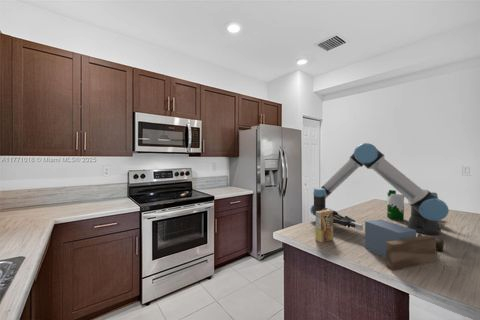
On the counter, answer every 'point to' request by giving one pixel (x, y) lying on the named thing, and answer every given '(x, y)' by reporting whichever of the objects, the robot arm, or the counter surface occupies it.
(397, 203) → the milk carton
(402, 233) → the block
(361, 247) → the counter surface
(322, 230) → the candy box
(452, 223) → the counter surface
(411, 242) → the board
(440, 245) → the kendama
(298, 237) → the counter surface
